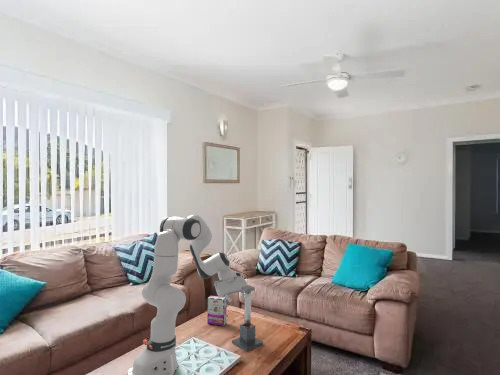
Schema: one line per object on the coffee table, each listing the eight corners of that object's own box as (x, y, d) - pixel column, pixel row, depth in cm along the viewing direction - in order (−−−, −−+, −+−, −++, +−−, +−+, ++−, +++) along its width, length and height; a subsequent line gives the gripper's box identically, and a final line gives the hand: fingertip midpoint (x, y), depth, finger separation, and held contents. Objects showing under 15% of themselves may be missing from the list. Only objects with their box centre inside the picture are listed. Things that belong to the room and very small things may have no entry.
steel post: (246, 333, 173) (247, 289, 173) (241, 330, 177) (241, 286, 177) (254, 330, 176) (254, 287, 176) (248, 327, 180) (248, 285, 180)
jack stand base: (245, 351, 168) (246, 330, 168) (231, 342, 177) (232, 323, 177) (262, 344, 176) (263, 324, 176) (248, 336, 185) (248, 317, 185)
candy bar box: (226, 323, 203) (227, 296, 203) (223, 326, 198) (224, 299, 198) (210, 320, 206) (210, 295, 206) (207, 323, 202) (207, 297, 202)
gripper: (215, 278, 183) (225, 300, 175) (243, 272, 196) (253, 293, 188) (210, 284, 186) (220, 306, 179) (238, 278, 199) (248, 298, 192)
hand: (237, 299), depth 184 cm, fingers open, 8 cm apart
